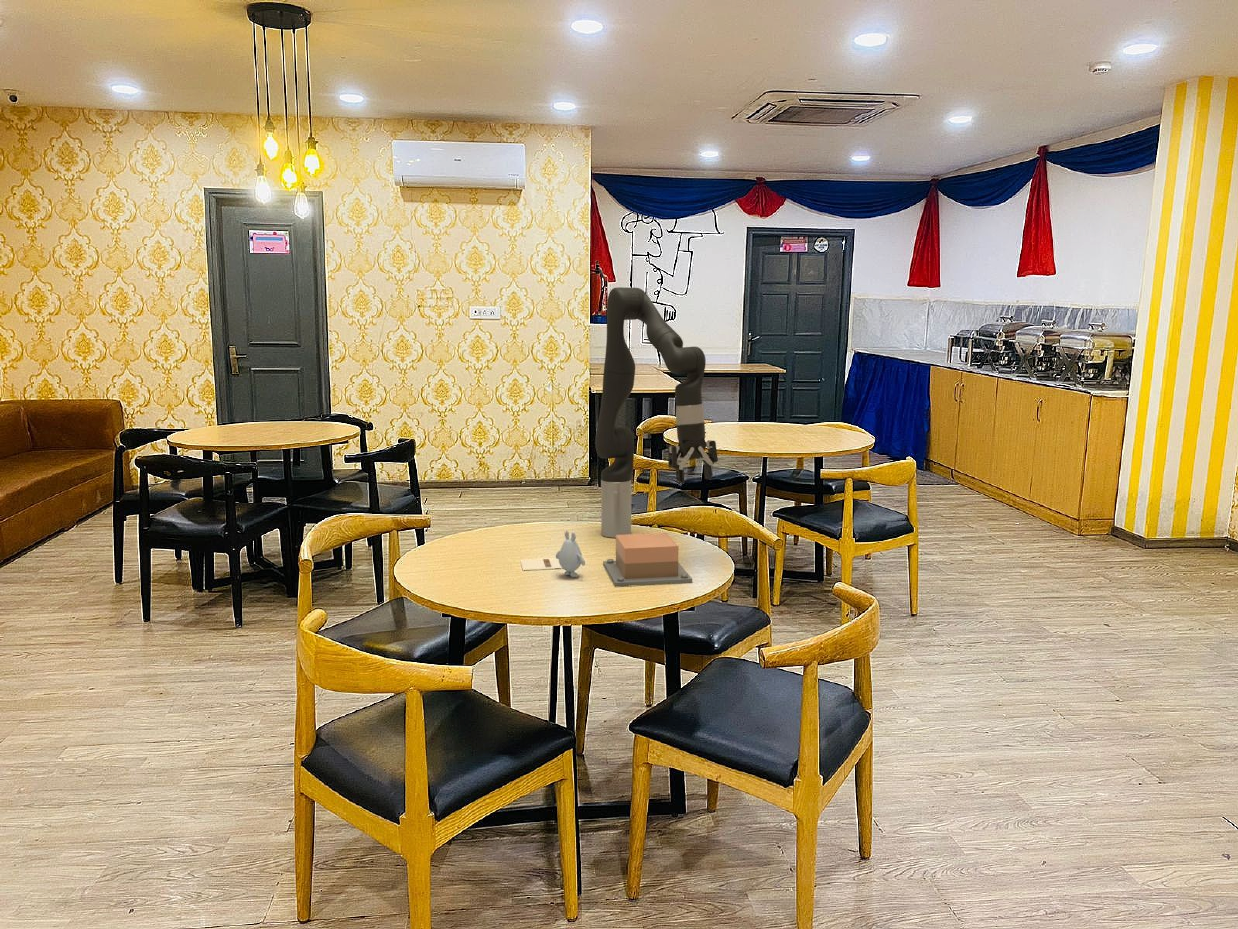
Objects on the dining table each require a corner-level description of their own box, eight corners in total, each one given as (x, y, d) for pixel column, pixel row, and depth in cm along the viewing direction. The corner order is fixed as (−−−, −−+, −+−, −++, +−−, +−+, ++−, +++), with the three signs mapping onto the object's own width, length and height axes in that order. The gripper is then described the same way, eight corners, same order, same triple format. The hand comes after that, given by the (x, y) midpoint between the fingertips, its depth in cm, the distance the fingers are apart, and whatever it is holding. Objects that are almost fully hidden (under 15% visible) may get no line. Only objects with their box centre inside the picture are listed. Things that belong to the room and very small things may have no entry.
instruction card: (520, 560, 255) (520, 559, 255) (570, 558, 258) (570, 556, 258) (522, 570, 246) (522, 569, 246) (574, 568, 248) (574, 566, 248)
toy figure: (593, 577, 240) (593, 532, 237) (576, 583, 235) (576, 537, 233) (564, 569, 247) (564, 526, 244) (547, 574, 242) (547, 530, 240)
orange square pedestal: (603, 564, 251) (603, 532, 250) (674, 561, 254) (674, 529, 253) (615, 586, 232) (615, 552, 230) (692, 582, 235) (692, 548, 233)
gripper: (704, 418, 254) (709, 476, 256) (660, 424, 247) (665, 483, 249) (720, 419, 247) (724, 478, 249) (674, 424, 241) (679, 486, 242)
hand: (694, 481), depth 249 cm, fingers open, 8 cm apart
